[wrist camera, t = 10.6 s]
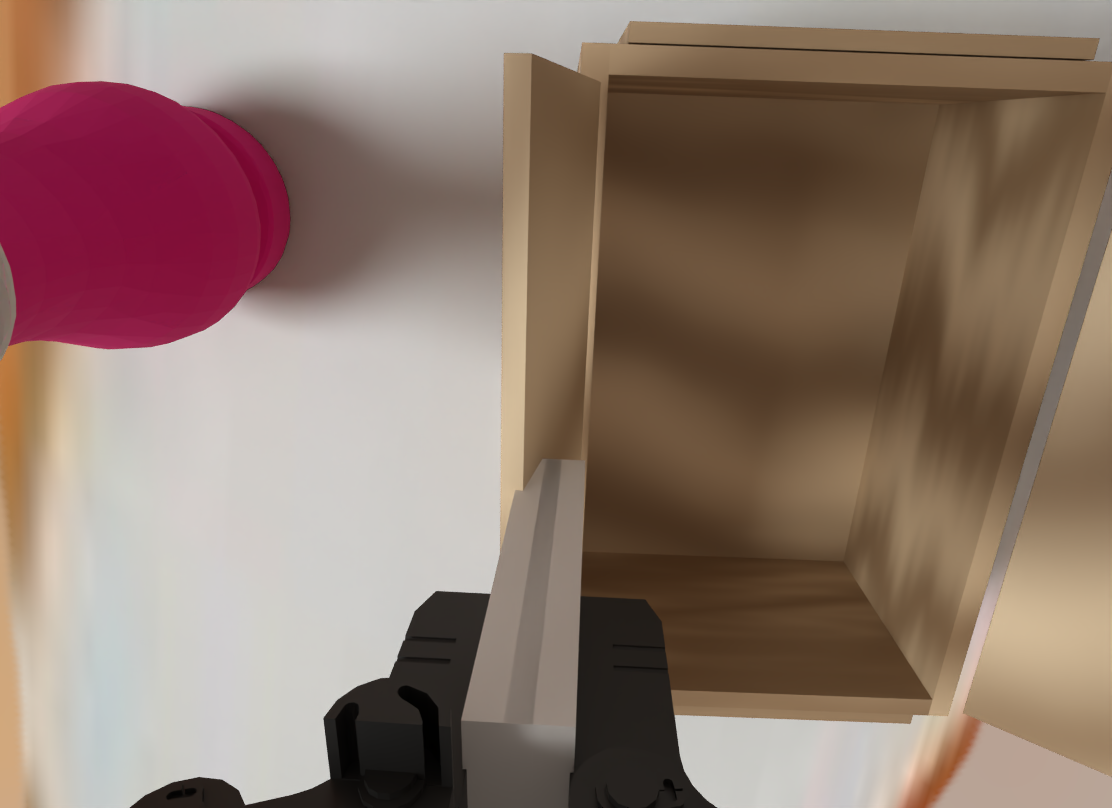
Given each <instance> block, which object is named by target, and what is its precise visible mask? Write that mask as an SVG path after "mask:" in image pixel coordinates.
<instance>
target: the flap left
mask: <svg viewBox="0 0 1112 808" xmlns="http://www.w3.org/2000/svg"><path fill="white" fill-rule="evenodd" d="M600 88H601V82H600V81H597V80H595V79H592V78H590V77H587V76H585V75H583V74H580V73H578V72H575V71H573V70H570V69H568V68H566V67H563V66H561V65H558V64H556V63H553V62H551V61H549V60H546V59H544V58H541V57H539V56H536V55H534V54H528V53H504V108H503V244H502V380H501V517H500V552H501V548H502V544H503V539H504V535H505V531H506V527H507V522H508V518H509V514H510V509H511V505H512V501H513V497H514V492H515V490H519V491H523V490H524V488H525V487H526V485H527V483H528V482H529V480H530V479H531V477H532V475H533V474H534V472H535V470H536V469H537V467H538V465H539V464H540V462H541V460H542V459H562V460H581V453H582V434H583V415H584V396H585V377H586V357H587V338H588V319H589V300H590V280H591V261H592V242H593V223H594V204H595V184H596V165H597V146H598V127H599V108H600Z"/></svg>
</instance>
